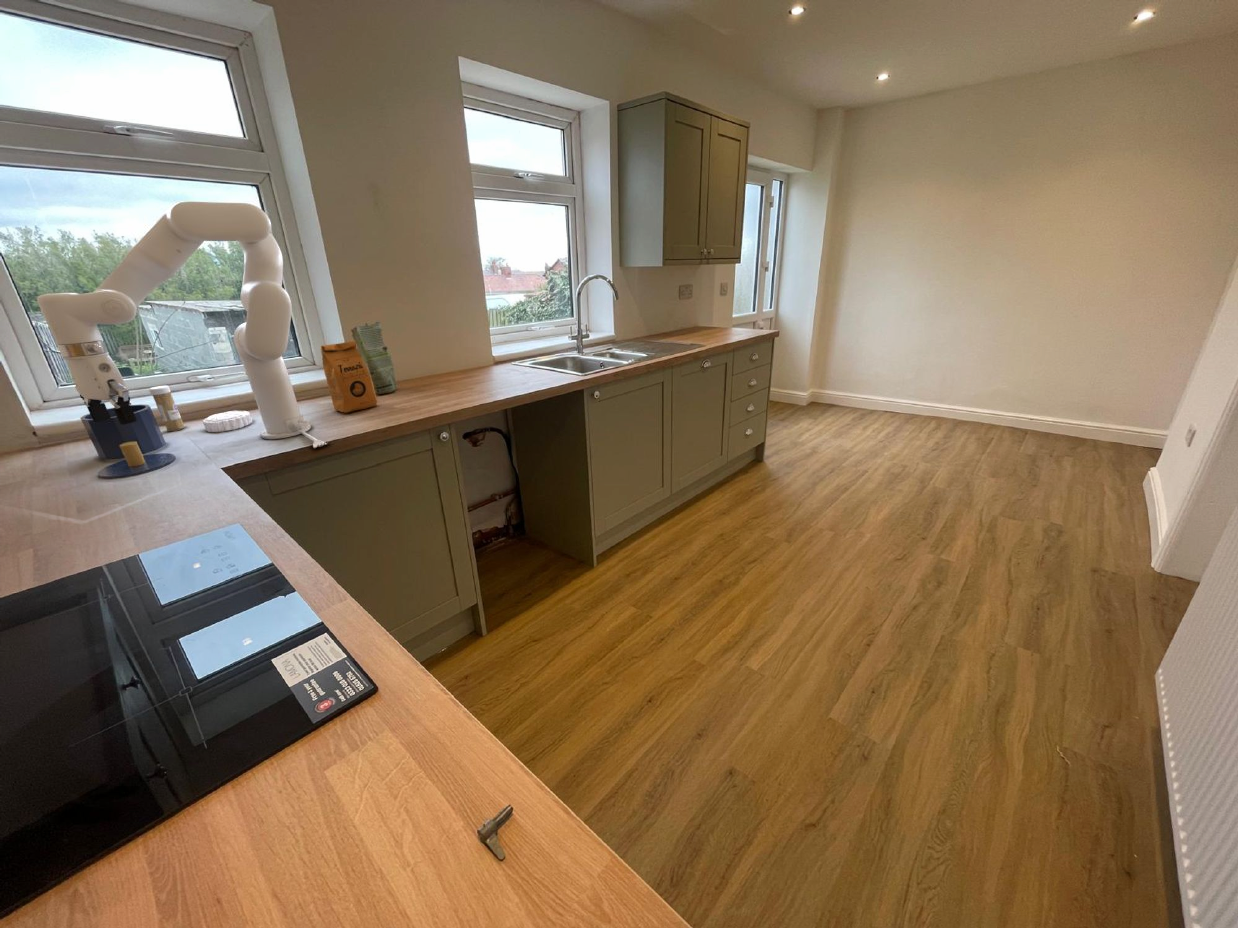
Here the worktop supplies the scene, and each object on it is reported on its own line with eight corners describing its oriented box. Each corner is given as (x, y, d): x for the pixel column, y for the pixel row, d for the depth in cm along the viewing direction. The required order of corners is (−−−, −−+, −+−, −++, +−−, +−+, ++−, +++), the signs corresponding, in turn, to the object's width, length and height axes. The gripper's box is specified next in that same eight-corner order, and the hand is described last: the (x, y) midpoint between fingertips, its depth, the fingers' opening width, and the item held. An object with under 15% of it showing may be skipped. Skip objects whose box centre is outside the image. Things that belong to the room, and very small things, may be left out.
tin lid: (190, 459, 130) (180, 435, 127) (124, 483, 117) (111, 457, 115) (152, 455, 134) (142, 431, 132) (85, 477, 122) (72, 452, 119)
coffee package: (382, 406, 168) (366, 340, 160) (343, 416, 160) (324, 347, 152) (369, 402, 175) (353, 338, 166) (332, 411, 167) (313, 344, 158)
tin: (177, 444, 141) (161, 405, 137) (121, 463, 130) (101, 421, 125) (146, 441, 146) (129, 403, 141) (88, 459, 134) (67, 418, 129)
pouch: (367, 397, 181) (349, 326, 171) (366, 390, 191) (349, 323, 181) (400, 392, 185) (384, 323, 176) (397, 386, 195) (382, 320, 185)
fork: (309, 432, 147) (307, 426, 146) (331, 447, 134) (329, 441, 133) (296, 435, 145) (294, 429, 144) (318, 451, 132) (316, 445, 131)
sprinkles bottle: (184, 429, 155) (167, 387, 149) (165, 432, 153) (147, 389, 147) (186, 425, 158) (169, 384, 153) (168, 429, 156) (150, 386, 151)
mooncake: (197, 430, 153) (192, 419, 152) (236, 418, 163) (233, 408, 162) (222, 434, 149) (217, 422, 147) (261, 421, 159) (257, 410, 158)
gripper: (128, 348, 115) (157, 419, 121) (80, 346, 120) (111, 415, 127) (87, 354, 108) (120, 429, 115) (39, 352, 113) (73, 424, 120)
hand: (115, 421), depth 121 cm, fingers open, 9 cm apart
